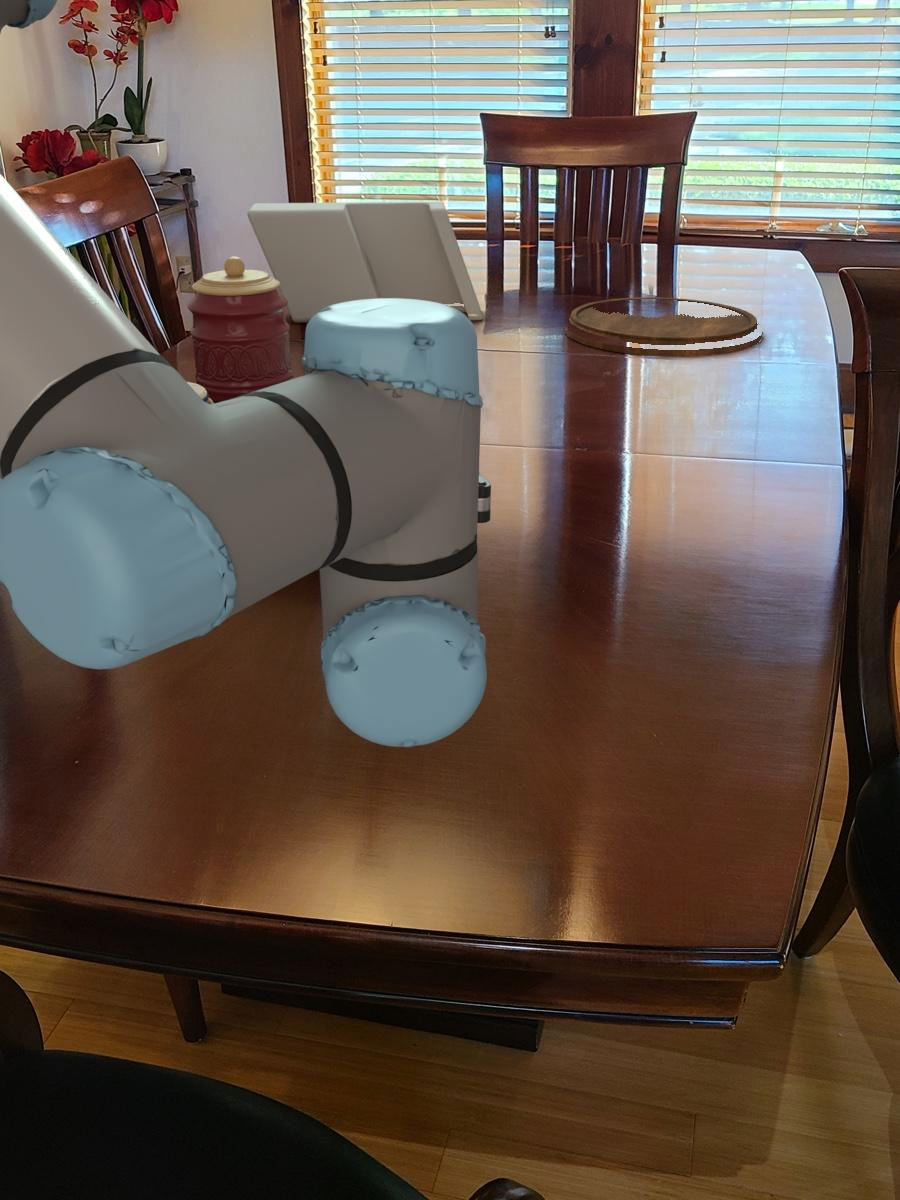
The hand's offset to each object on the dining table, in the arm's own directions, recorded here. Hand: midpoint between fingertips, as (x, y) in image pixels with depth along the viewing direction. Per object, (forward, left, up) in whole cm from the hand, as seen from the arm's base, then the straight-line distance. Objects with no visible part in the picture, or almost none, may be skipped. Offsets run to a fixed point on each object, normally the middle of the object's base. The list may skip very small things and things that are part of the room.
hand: (373, 424), depth 82 cm
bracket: (-42, +102, -16) cm, 112 cm away
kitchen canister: (-41, +54, -16) cm, 70 cm away
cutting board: (+8, +106, -16) cm, 107 cm away
